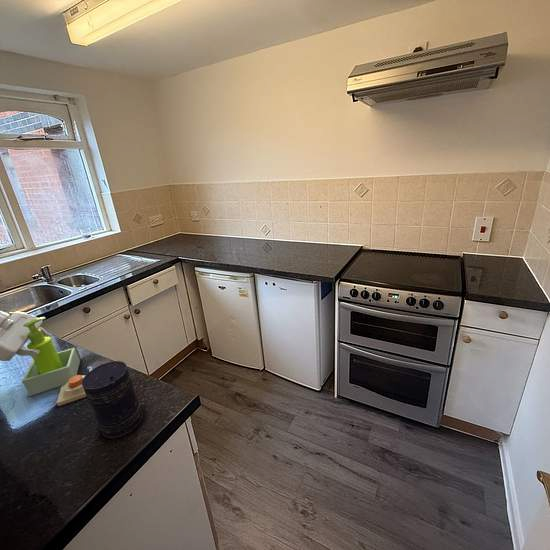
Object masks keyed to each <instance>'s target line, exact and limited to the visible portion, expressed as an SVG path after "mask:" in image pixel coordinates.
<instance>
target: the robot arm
mask: <svg viewBox="0 0 550 550" xmlns="http://www.w3.org/2000/svg"><path fill="white" fill-rule="evenodd" d="M36 318H39V317H38V316H35V315H32V314H29V313H26V312H21V311H10V312H5V311H2V310H0V361H1V362H10V361H11V360H12V359H13V358H14V357H15V356H16V355H17V356H20V357H21V356H22V357H23V356H24V357H28V356H29V357H31V358H32V357H36V356H37V355H38V354H39V352H40V350H37V349H35V348H34V349H28V348H27V346H24V345H25V344H26V343H27V342H28V341H30V339H29V337H28V333H29V332H30V331H29V328H28V327H24V326H23V325H24V324H26V323H27V322H29V321H31V320H33V319H36ZM43 322H44V320H41V321H39V322H37V323H35V326H36V328H37V329H40V330H41V331H42V333H43V335H44V337H50V338H51V339H52V337H53V334H52V333H50V332H48V331H47V330H46V329H45V328H44V327H42V326H41V325H42V324H43Z"/></svg>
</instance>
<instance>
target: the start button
mask: <svg viewBox="0 0 550 550" xmlns="http://www.w3.org/2000/svg"><path fill="white" fill-rule="evenodd" d="M82 376H83V375H82V374H77V375H76V376H74V377H72V378H70V379H69V380H68V384H69V386H70V388H75V387H78V386H79V385H81V384H82V380H83V378H82Z"/></svg>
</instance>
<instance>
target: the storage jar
mask: <svg viewBox="0 0 550 550" xmlns="http://www.w3.org/2000/svg"><path fill="white" fill-rule="evenodd" d="M133 382H134V381H133V379H132V376H131V373H130V371H129V368H128V365H127V363H125V362H124V361H122V360H121V361H120V360H114V361H110V362H106V363H103V364H100V365H98V366H96V367H94V368H93V369H91V370H90V371H89V372H87V373H86V374H85V377H84V378H83V380H82V386H83V388H84V391H85V395H86V397H85V398H86V399H87V403H89V405H90V406H91V407H92V409H93V411H94V417H95V419H96V423H97V425H98V427H99V429H100V431H101V433H102V435H103V436H104V437H105V438H108V439H115V438H120V437H123V436H125V435H127V434H129V433H130V432H132V431H133V430H134V429H136V428H137V426H139V425H140V423H141V422H142V419H143V417H144V411H143V409H142V406H141V405H142V404H141V402H140V399H139V398H138V395H137V393H136V392H135V389H134V383H133Z"/></svg>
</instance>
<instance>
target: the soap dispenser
mask: <svg viewBox="0 0 550 550" xmlns="http://www.w3.org/2000/svg"><path fill="white" fill-rule="evenodd" d="M46 319H47V317H45V316H40V317H38V318H36V319H33V320H31V321H29V322H27V323H26V324H24V325H23V326H24V327H28V328H29V331H30V332H29V333H28V337H29V341H30V342H29V343H27V345H26V349H34V348H35V349H37V350H40V352H39V354H38V355H37V356H36V357H32V356H31V358H32V361H33V360H34V362H35V364H36V366H37V368H38V371H39V373H40V374H44V373H47V372H50V371H53V370H57V369H60V368H63V365H62V363H61V361H60V359H59V356H58V354H57V353H58V352H57V350H56V347H55V345H54V343H53V341H52V337H51V338H50V337H44V335H43V333H42V331H41V330H40V329H37V328H36V326H35V323H37V322H39V321H41V320H42V321H44V320H46Z"/></svg>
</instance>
